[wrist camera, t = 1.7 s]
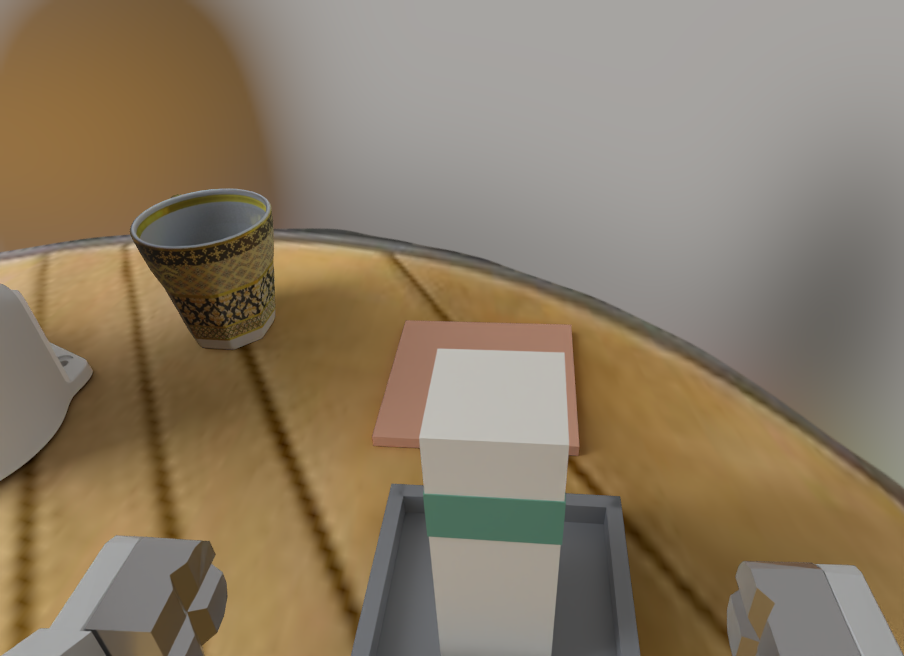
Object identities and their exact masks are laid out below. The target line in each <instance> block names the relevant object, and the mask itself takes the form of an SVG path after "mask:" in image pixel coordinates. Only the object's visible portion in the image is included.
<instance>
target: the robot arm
mask: <svg viewBox="0 0 904 656" xmlns="http://www.w3.org/2000/svg"><path fill="white" fill-rule="evenodd" d="M92 373H93V370H92V368H91V367H90V365H89V363H88V362H87V361H86V360H85V359H84V358H82V357H80V356H78V355H76V354H73V353H71V352H69V351H67V350H65V349H63V348H61V347H59V346H56V345H54V344H52V343H50V342H49V341H48V339H47V338H46V336H45V334H44V332H43V331H42V329H41V327H40V325H39V323H38V322H37V320H36V318H35V316H34V314H33V313H32V311H31V309H30V307H29V306H28V304H27V302H26V300H25V299H24V297H23V296H22V294H21V293H20V292H19V291H18V290H11V289H9V288H8V287H6V286H5V285H3V284H0V481H1V480H2V479H4V478H5V477H7V476H8V475H10V474H11V473H13V472H14V471H16V470H17V469H18V468H20V467H21V466H22V465H24V464H25V463H26V462H27V461H29V460H30V459H31V458H32V457H33V456H35V455H36V454H37V453H38V452H39V451H40V450H41V449H42V448H43V447H44V446H45V445H46V444H47V443H48V442H49V440H50V439H51V438H52V437H53V436H54V434H55V433H56V431H57V430H58V428H59V427H60V425H61V424H62V422H63V420H64V418H65V415H66V412H67V409H68V406H69V404H70V401H71V399H72V398H73V396H74V395H75V394H76V393H77V392H78V391H79V390H80V389H81V388H82V387H83V386H84V385H85V383H86V382H87V381H88V380H89V379H90V377H91V376H92ZM215 555H216V554H215V552H214V550H213V548H212V546H211V543H210V541H201V540H185V539H169V538H154V537H138V536H115V537H113V538H112V539H111V540H109V541H108V542H107V543H106V544H105V545H104V546H103V548H102V549H101V551H100V552H99V554H98V555H97V557H96V558H95V560H94V561H93V563H92V564H91V566H90V567H89V569H88V570H87V572H86V573H85V575H84V577H83V578H82V580H81V581H80V583H79V584H78V586H77V587H76V589H75V590H74V592H73V593H72V595H71V596H70V598H69V599H68V601H67V602H66V604H65V605H64V607H63V608H62V610H61V611H60V613H59V614H58V616H57V617H56V619H55V620H54V622H53V623H52V625H51V627H50V628H40V629H38V630H37V631H36V632H34V633H33V634H31V635H30V636H29V637H27V638H26V639H24V640H23V641H22V642H20V643H19V644H17V645H16V646H15V647H13V648H12V649H10V650H9V651H7V652H6V653H5V654H3V655H2V656H205V655H204V651H203V647H202V645H203V644H204V643H206V642H207V641H208V640H209V639H210V638H211V637H213V636H214V635H215V634H216V633H217V632H218V629H219V627H220V624H221V622H222V619H223V617H224V613H225V607H226V602H227V584H226V580H225V577H224V575H223V572H221V571H220V570H219V569H217V568H216V567H215V566H213V565H212V564H211V563H212V561H213V559H214V557H215ZM736 580H737V583H738V587H739V590H738V591H737V592H735V593H734V594H732V595H731V596H730V599H729V604H728V608H727V631H728V637H729V644H730V648H731V652H732V656H904V655H903V653H902V651H901V649H900V647H899V645H898V643H897V641H896V639H895V637H894V635H893V633H892V631H891V630H890V628H889V626H888V624H887V622H886V620H885V618H884V616H883V614H882V612H881V610H880V608H879V606H878V604H877V602H876V600H875V598H874V596H873V594H872V592H871V590H870V588H869V586H868V584H867V582H866V580H865V578H864V576H863V574H862V572H861V571H860V570H858V569H857V568H856V567H855V566H853V565H833V564H813V563H799V562H760V561H743V562H742V563H741V564H740V565H739V567H738V570H737V573H736Z"/></svg>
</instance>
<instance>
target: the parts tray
mask: <svg viewBox="0 0 904 656" xmlns="http://www.w3.org/2000/svg"><path fill="white" fill-rule="evenodd" d="M423 492H424V486H423V485H405V484H391V488H390V493H389V497H388V501H387V505H386V510H385V514H384V518H383V522H382V527H381V531H380V535H379V539H378V544H377V548H376V552H375V556H374V560H373V565H372V569H371V573H370V577H369V582H368V586H367V590H366V594H365V599H364V603H363V607H362V611H361V616H360V620H359V624H358V628H357V632H356V637H355V641H354V645H353V649H352V654H351V656H441V653H440V643H439V633H438V623H437V613H436V603H435V593H434V583H433V573H432V563H431V553H430V543H429V537H428V536H427V529H426V519H425V509H424V500H423ZM565 494H566V507H565V518H564V530H563V541H562V545H561V547H560V559H559V570H558V582H557V594H556V606H555V617H554V629H553V641H552V653H551V656H640V649H639V641H638V633H637V625H636V617H635V609H634V602H633V594H632V586H631V578H630V570H629V562H628V554H627V546H626V538H625V530H624V522H623V515H622V507H621V499H620V496H603V495H585V494H567V493H565Z"/></svg>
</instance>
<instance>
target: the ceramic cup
mask: <svg viewBox="0 0 904 656" xmlns="http://www.w3.org/2000/svg"><path fill="white" fill-rule="evenodd" d="M130 234H131V237H132V239H133V241H134V243H135V244H136V246H137V248H138V250H139V252H140V254H141V255H142V257H143V258H144V260H145V262H146V263H147V265H148V267H149V268H150V270H151V271H152V273H153V274H154V275H155V276H156V278H157V279H158V280H159V282H160V283H161V284H162V285H163V287H164V288H165V290H166V292H167V293H168V295H169V297H170V298H171V300H172V302H173V304H174V305H175V307H176V309H177V310H178V312H179V314H180V316H181V318H182V319H183V321H184V323H185V324H186V326H187V328H188V329H189V331H190V333H191V334H192V335H193V337H194V338H195V340H196V341H197V342H198V344H199V345H200V346H202V347H203V348H215V349H230V350H233V349H237V348H239V347H242V346H244V345H247V344H249V343H252V342H254V341H257V340H259V339H261V338H263V336H264V335H265V333H266V332H267V330H268V329H269V327H270V326H271V324H272V323H273V321H274V318H275V287H274V265H273V256H274V236H273V219H272V211H271V205H270V203H269V201H268V200H267V199H266V198H265V197H263V196H261V195H259V194H257V193H254V192H251V191H247V190H240V189H212V190H204V191H198V192H192V193H188V194H184V195H174V196H172V197H171V199H168V200H165V201H163V202H161V203H158V204H156V205H154V206H152V207H151V208H149V209H147V210H146V211H144V212H143V213H142V214H140V215H139V216H138V217H137V218H136V219H135V220H134V222H133V223H132V225H131V228H130Z"/></svg>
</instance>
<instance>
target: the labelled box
mask: <svg viewBox="0 0 904 656" xmlns="http://www.w3.org/2000/svg"><path fill="white" fill-rule="evenodd" d="M419 443H420V453H421V463H422V473H423V483H424V492H423V500H424V509H425V519H426V529H427V536H428V537H429V543H430V553H431V563H432V573H433V583H434V593H435V603H436V613H437V623H438V633H439V643H440V653H441V656H551V653H552V641H553V629H554V617H555V606H556V594H557V582H558V570H559V559H560V547H561V545H562V541H563V530H564V518H565V507H566V494H565V488H566V476H567V465H568V453H569V432H568V412H567V393H566V373H565V353H564V352H533V351H501V350H470V349H437V354H436V359H435V363H434V368H433V373H432V378H431V383H430V387H429V392H428V397H427V402H426V407H425V411H424V416H423V421H422V426H421V431H420V436H419Z"/></svg>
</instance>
